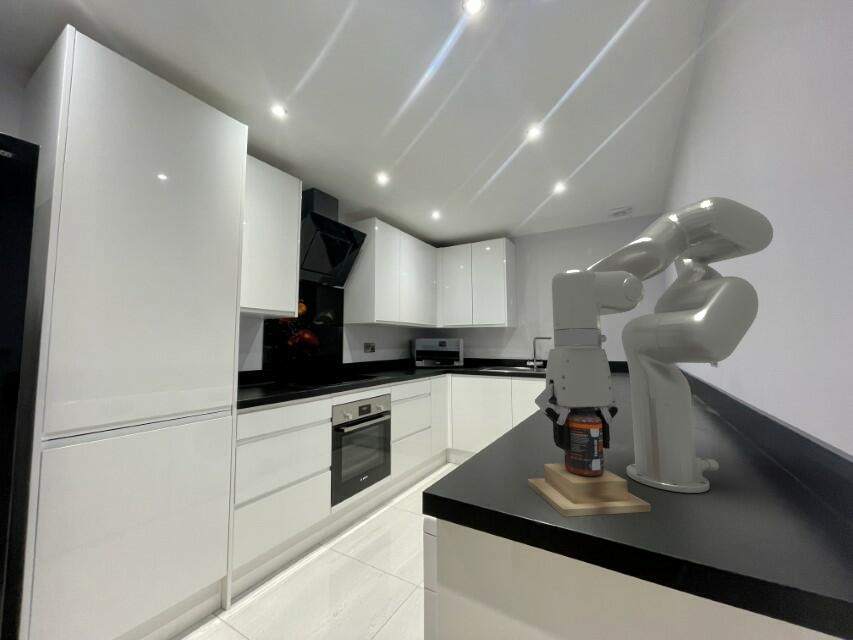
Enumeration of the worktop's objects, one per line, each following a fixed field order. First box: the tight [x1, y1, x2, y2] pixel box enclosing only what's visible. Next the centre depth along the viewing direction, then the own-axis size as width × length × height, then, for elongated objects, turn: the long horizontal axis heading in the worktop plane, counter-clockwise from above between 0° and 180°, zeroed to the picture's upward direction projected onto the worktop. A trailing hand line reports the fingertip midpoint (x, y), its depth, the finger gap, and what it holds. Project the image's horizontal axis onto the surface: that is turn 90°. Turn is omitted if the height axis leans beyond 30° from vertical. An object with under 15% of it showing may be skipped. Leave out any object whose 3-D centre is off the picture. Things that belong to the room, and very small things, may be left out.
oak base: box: [527, 462, 652, 518], centre depth 54 cm, size 14×12×4 cm
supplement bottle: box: [563, 407, 605, 476], centre depth 55 cm, size 6×6×11 cm
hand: (581, 446), depth 55 cm, fingers open, 6 cm apart
